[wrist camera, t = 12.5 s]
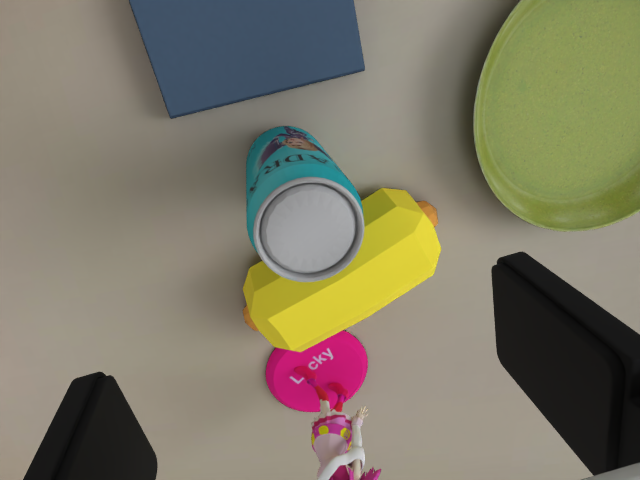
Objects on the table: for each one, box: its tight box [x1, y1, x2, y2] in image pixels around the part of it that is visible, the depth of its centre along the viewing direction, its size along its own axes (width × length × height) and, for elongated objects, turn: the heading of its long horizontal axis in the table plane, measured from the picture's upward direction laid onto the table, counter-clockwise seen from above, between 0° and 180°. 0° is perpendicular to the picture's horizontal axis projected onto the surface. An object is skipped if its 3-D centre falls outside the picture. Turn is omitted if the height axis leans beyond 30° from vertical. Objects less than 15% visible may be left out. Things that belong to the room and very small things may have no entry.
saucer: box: [473, 0, 640, 232], centre depth 34 cm, size 21×21×3 cm
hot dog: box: [243, 188, 441, 352], centre depth 35 cm, size 18×7×8 cm
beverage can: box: [246, 126, 364, 282], centre depth 27 cm, size 6×6×15 cm
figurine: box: [266, 330, 381, 480], centre depth 35 cm, size 10×10×15 cm
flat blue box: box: [129, 0, 365, 119], centre depth 30 cm, size 8×14×2 cm, turn 103°
